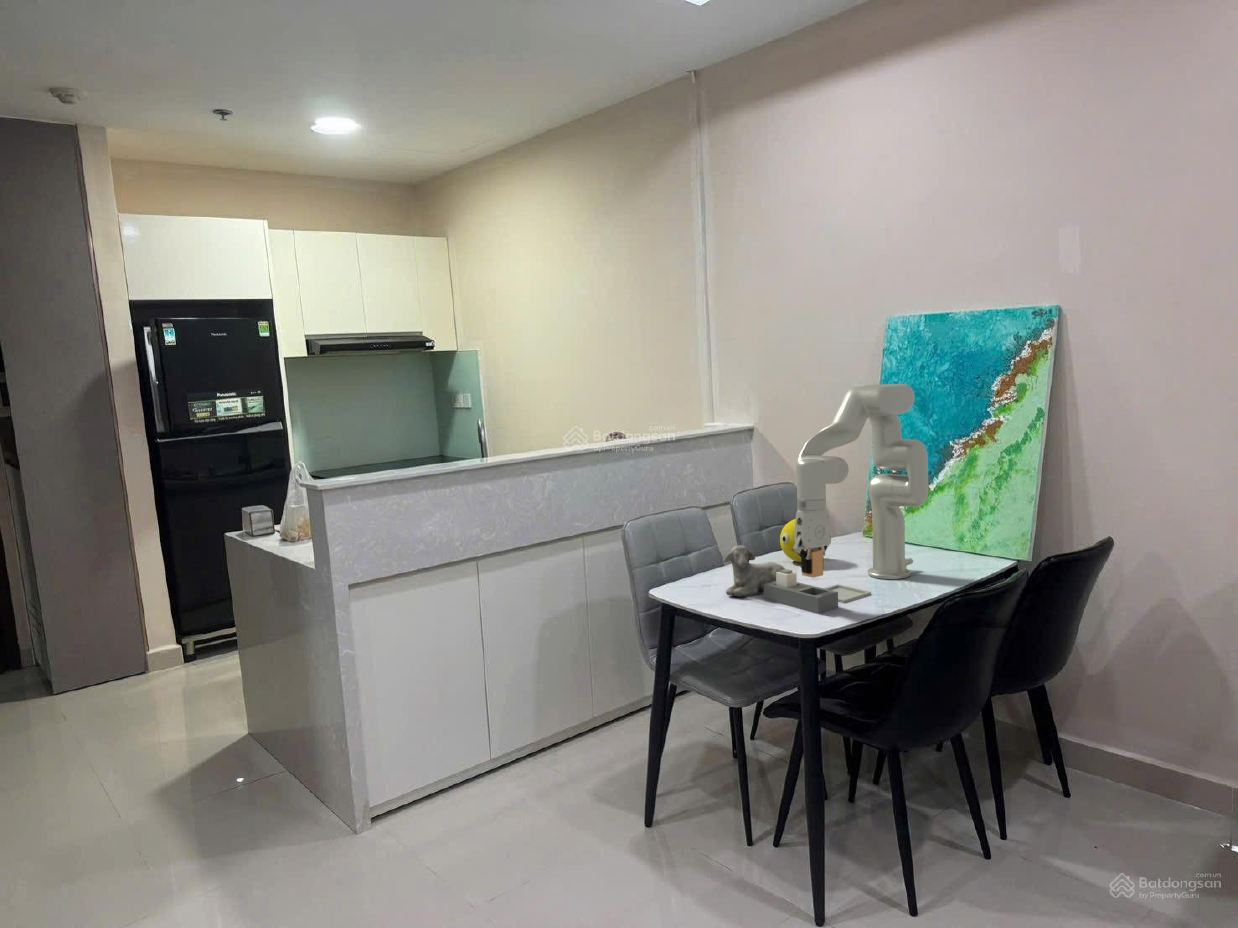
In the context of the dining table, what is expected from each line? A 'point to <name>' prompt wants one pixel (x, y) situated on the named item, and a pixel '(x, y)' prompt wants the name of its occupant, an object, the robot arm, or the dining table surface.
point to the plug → (816, 563)
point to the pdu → (799, 594)
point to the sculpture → (749, 572)
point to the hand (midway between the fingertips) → (812, 570)
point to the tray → (848, 593)
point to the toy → (789, 541)
